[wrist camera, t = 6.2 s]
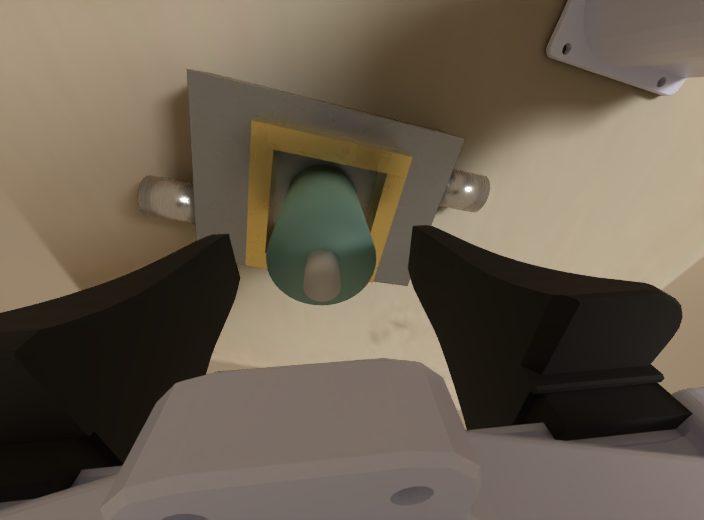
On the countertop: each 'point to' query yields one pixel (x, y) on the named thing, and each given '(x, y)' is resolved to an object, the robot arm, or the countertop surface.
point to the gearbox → (298, 154)
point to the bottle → (321, 239)
